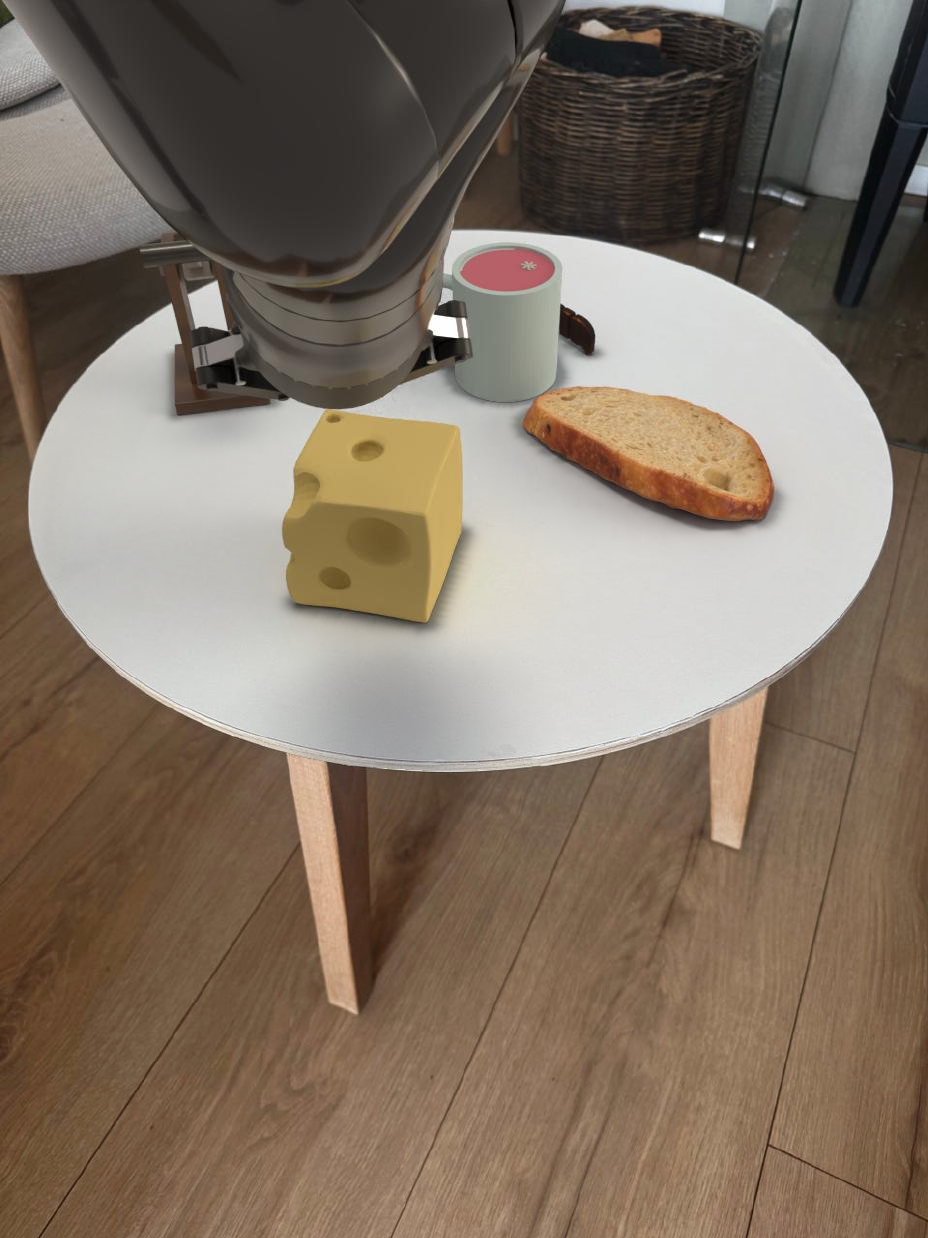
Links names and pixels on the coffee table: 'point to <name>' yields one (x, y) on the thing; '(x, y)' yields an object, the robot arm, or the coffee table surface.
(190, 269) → the lever
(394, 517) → the cheese
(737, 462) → the slice of bread
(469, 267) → the mug
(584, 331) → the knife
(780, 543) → the coffee table surface
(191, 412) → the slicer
